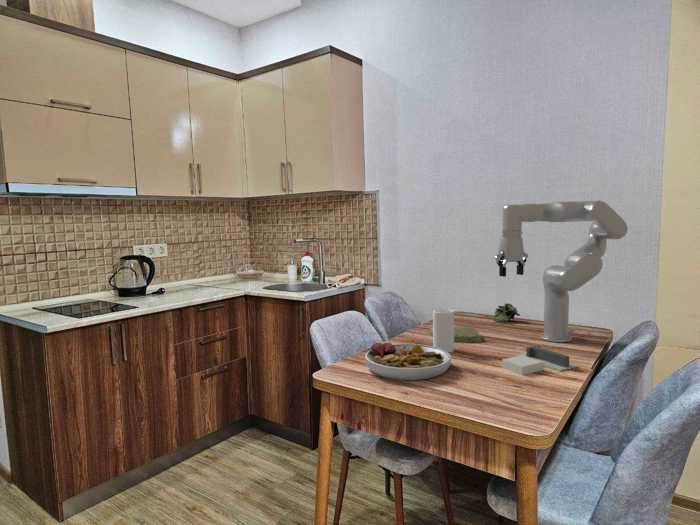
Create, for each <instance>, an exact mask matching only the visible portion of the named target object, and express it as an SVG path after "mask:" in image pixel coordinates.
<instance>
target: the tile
mask: <svg viewBox="0 0 700 525" xmlns="http://www.w3.org/2000/svg"><path fill="white" fill-rule="evenodd" d="M501 369H504V370H506V369H507V371H509V370H510V372H513V373H514V372H515V374H517V373H518V374H517V375H520V376H525V374H526V375H529V374H533V373H534V372H535V373H539V372H543V371H544V366H543V362H542V361H539V360H536V359H533V358H530V357H527V356H524V355H522V356H517V357H516V356H512V357H509V358H504V359H503V358H502V359H501ZM542 370H543V371H542ZM538 371H539V372H538Z"/></svg>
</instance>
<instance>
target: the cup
mask: <svg viewBox="0 0 700 525" xmlns="http://www.w3.org/2000/svg"><path fill="white" fill-rule="evenodd" d="M454 317H455V311H454V310H453V309H448V308H437V309H433V311H432V327H433V337H432V347H436V348H440V349H442V350H444V351H446V352H448V353H449V352H450V353H453V352H454V351H455V342H454V327H455V318H454ZM450 353H449V354H450Z"/></svg>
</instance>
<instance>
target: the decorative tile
mask: <svg viewBox="0 0 700 525" xmlns="http://www.w3.org/2000/svg"><path fill="white" fill-rule="evenodd" d="M429 332H430V333H429V334H430V335H432V336H431V337H432V338H433V326H431V327H429ZM482 342H483V339H482V335H481V334H480V333H479V331H478V330H476V329H475V328H474V327H473V326H454V343H482Z"/></svg>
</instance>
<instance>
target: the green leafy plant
mask: <svg viewBox="0 0 700 525" xmlns="http://www.w3.org/2000/svg"><path fill="white" fill-rule="evenodd" d="M515 316H518V317H520V316H521V313H519V312H518V308H517V307H514V306H513V304H512V303H511V304H510V303H504V304H503V305H500V304H499V305H497V308H495V311H494V315H493V316H492V318H491V320H493V321H494V320H495V321H496V320H497V319H499V318H501V319H502V320H503V321H505V320H506V321H505V323H507V322H508V321H510V320H514V319H515Z"/></svg>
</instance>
